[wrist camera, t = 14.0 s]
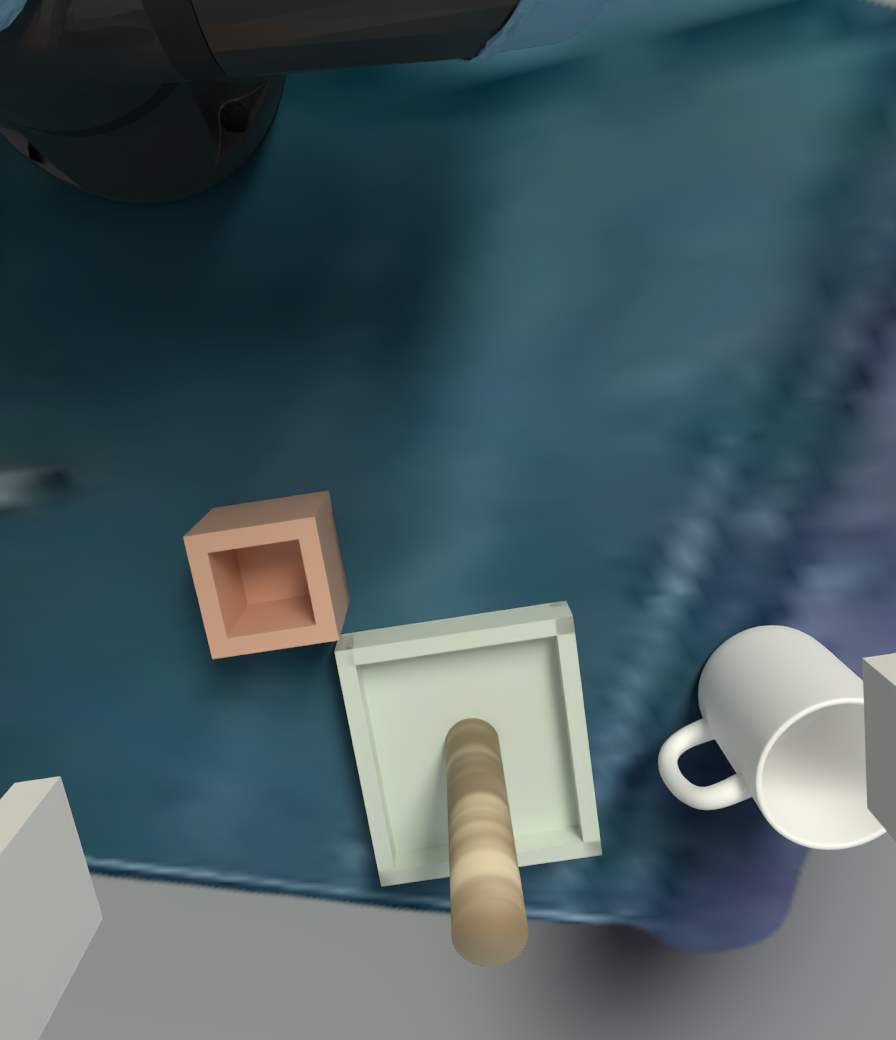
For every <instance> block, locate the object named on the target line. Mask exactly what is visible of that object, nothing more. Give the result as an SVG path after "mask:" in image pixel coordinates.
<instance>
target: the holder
mask: <svg viewBox="0 0 896 1040" xmlns="http://www.w3.org/2000/svg"><path fill="white" fill-rule="evenodd" d="M183 539H184V543H185V547H186V551H187V555H188V560H189V564H190V568H191V572H192V576H193V580H194V585H195V589H196V593H197V597H198V601H199V606H200V610H201V614H202V618H203V622H204V627H205V631H206V635H207V639H208V643H209V647H210V652H211V656H212V659H217V658H224V657H231V656H237V655H244V654H251V653H258V652H264V651H271V650H278V649H284V648H291V647H298V646H304V645H311V644H318V643H324V642H331V641H338V640H339V639H340V635H341V631H342V628H343V624H344V620H345V616H346V613H347V609H348V605H349V602H350V599H349V593H348V588H347V583H346V578H345V572H344V567H343V562H342V557H341V552H340V546H339V541H338V536H337V531H336V525H335V520H334V515H333V510H332V505H331V499H330V494H329V490H328V491H321V492H315V493H308V494H302V495H295V496H289V497H282V498H276V499H269V500H263V501H256V502H249V503H243V504H236V505H230V506H223V507H217V508H212V509H211V510H210V511H209V512H208V513H207V514H206V515H205V516H204V517H203V518H202V519H201V520H200V521H199V522H198V523H197V524H196V525H195V526H194V527H193V528H192V529H191V530H190V531H189V532H188V533H187V534H186V535H185V536H184V537H183Z"/></svg>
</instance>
